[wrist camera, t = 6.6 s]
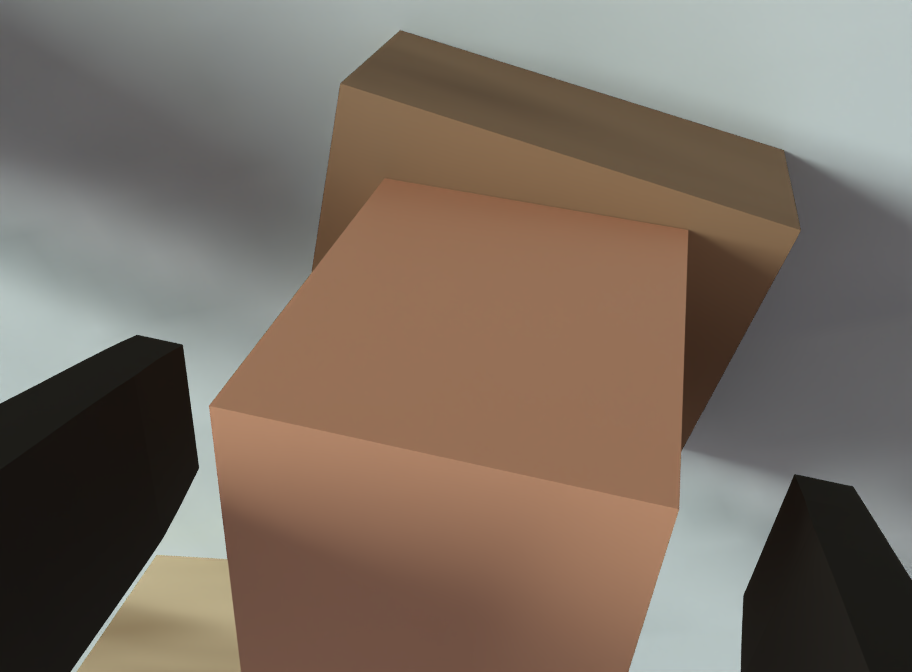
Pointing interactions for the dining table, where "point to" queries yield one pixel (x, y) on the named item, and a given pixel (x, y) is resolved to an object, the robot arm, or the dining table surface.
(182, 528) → the dining table surface
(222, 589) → the maple block
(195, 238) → the dining table surface
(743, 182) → the walnut block
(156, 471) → the robot arm
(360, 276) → the terracotta block
